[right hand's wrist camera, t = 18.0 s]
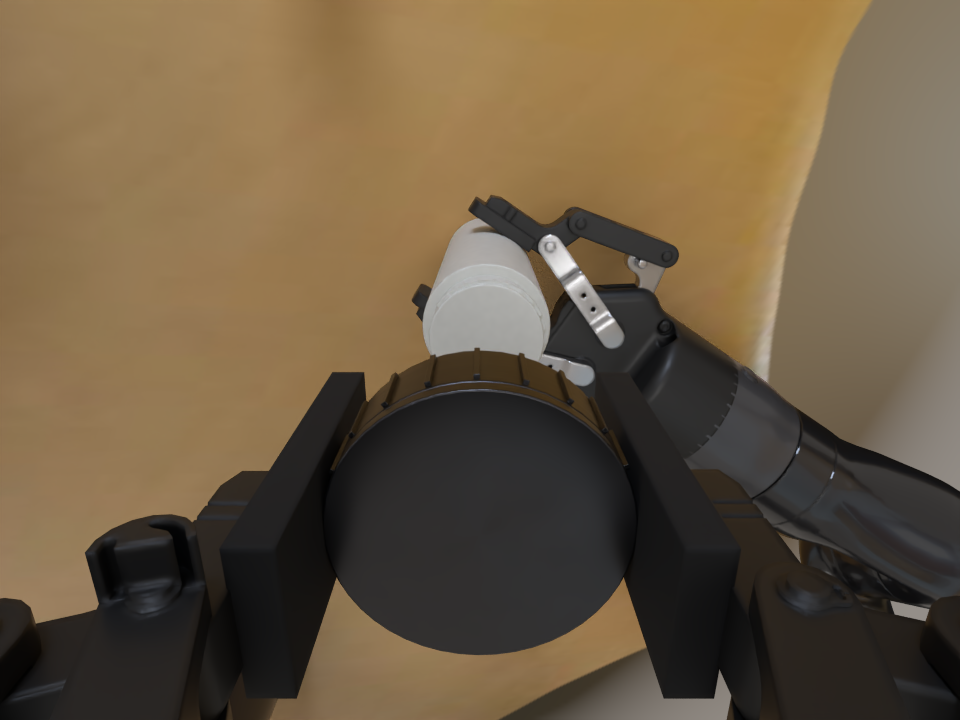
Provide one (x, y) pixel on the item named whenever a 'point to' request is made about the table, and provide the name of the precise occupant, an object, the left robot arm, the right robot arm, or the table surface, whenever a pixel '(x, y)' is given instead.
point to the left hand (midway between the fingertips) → (445, 249)
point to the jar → (486, 297)
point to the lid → (480, 505)
